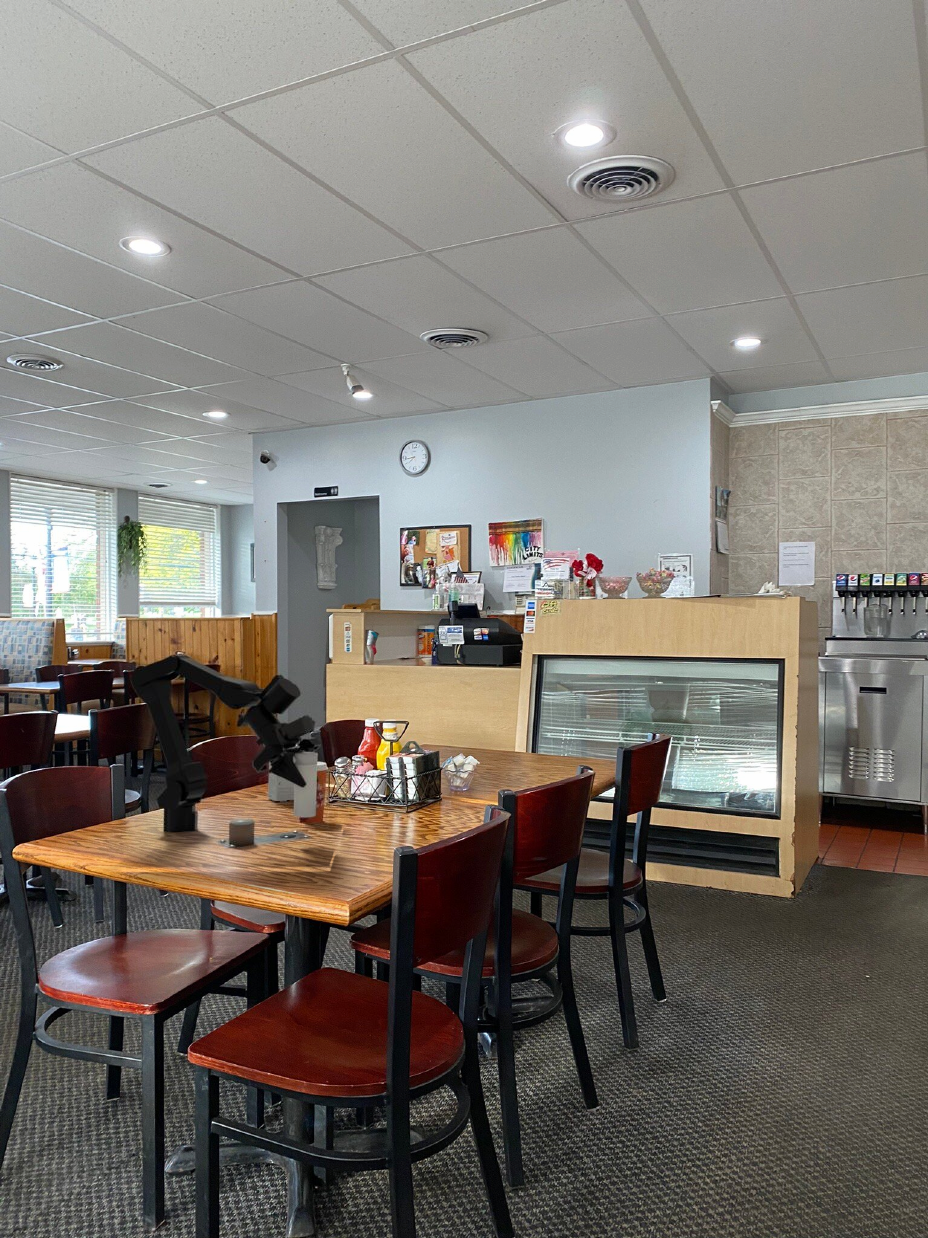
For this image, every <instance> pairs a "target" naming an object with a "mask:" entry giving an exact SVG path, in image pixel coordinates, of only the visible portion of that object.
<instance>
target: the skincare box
mask: <svg viewBox="0 0 928 1238" xmlns="http://www.w3.org/2000/svg"><path fill="white" fill-rule="evenodd" d="M295 745H296V746H297V745H298V744H295ZM270 764H271V763H270V762H268V771H269V770H270V769H271V768H272V766H271V765H270ZM267 789H268V790H267V791H268V793H267V799H268V798H269V799H268V800H271V801H273V802H275V801H280V802H288V801H287V800H290V801H294V783H292V782H290V781H288V780H286V779H284V778H282V777H279V776H277V775H275V774H273V773H269V772H268V787H267Z"/></svg>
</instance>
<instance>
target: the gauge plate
mask: <svg viewBox="0 0 928 1238" xmlns="http://www.w3.org/2000/svg"><path fill="white" fill-rule="evenodd" d="M306 839H314V837H313V836H310V835H309V834H306V833H303V832H301V831H299V830H292V831H287V832H278V833H270V834H263V835H254V843H251V844H246V845H233V844H229V839H220V840H215V842H216V843H218V844H220V845H221V846H224V847H226V848H227V849H237V848H243V847H252V846H259V845H267V844H276V843H283V842H291V841H300V840H306Z"/></svg>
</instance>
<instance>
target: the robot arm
mask: <svg viewBox="0 0 928 1238" xmlns="http://www.w3.org/2000/svg"><path fill="white" fill-rule="evenodd" d="M179 677H182V678H184V679H186V680H188V681H190V682H191V683H194V684H196V685H198V686H200V687H202V688H203V689H206V690H208V691H210V692H211V693H213V694H214V695H216V697H217V698H218V700H219V701H220V702H221V703H222V704H224V705H225V706H227V707H228V708H229V709H231V710H243V709H247V710H246V711H245V712H244V713H239V714H238V715H237V716H238V719H237V721H236V722H237V723H236V727H237V728H242V727H249V728H250V729H251V730H252V732H253V733H254V735H255V736H256V737H257V739H258V740H257V741H256V743H257V745H258V746H264V747H263V748H262V749H261V750H260V751H259V752H258V753H257V755H256V756H255V757H253V759H252V768H253V769H254V770H255V771H256V773H258V774H259V773H263V772H266V770H267V764H269V762H270V763H271V764H270V765H271V766H272V768H271V769H270V770H269V769H268V771H267V772H268V774H269V773H273V774H275V775H277V776H279V777H282V778H284V779H286V780H288V781H290V782H292V783H294V784H296V785H298V786H300V787H302V788H303V787H305V786H306V782H305V780H304V778H303V777H302V775H301V774H300V772H299V770H298V769H297V767H296V766H295V753H298V752H315V753H316V752H317V750H318V749H319V748H320V747H322V743H321V742H320V740H319V739H318V738H317V737H308V738H303V739H302V738H301V737H302V736H304V735H305V736H306V735H307V734H309V733H313V732H315V725H316V721H315V720H313V718H312V717H311V716H310V715H308V714H306V715H303V716H302V717H298V718H297V719H295V720H293V721H291V722H289V723H287V722H281V721H280V719H278V717H277V716H276V715H284V714H285V713H286V712H287V710H288V709H289V708H290V707H291V706H292V705H294V703H295V702H296V701H297V700H298V699H299V698H300V697H301V693H302V692H301V690H300V688H299V687H298V685H297V684H295V683H294V682H293V681H291V680H289V679H287V678H285V677H284V675H282V674H275V675H274V677H272V679H271V681H270V682H269V683H268V684H267V685H266V687H265V688H261V687H259V685H258V684H257V683H256V682H252V681H249V680H246V679H245V680H244V679H241V678H236V677H231V676H226V675H225V674H223V673H221V672H218V671H217V670H214V669H213V668H210V667H209V666H207V665H204V663H203V664H202V663H201V662H198V661H197V660H194V659H192V658H191V657H190V656H188V655H187V654H171V655H169V656H167V657H165V658H163V659H160V660H158V661H155V662H152V663H150V664H147V665H139V666H136V667H135V668H134V670H133V672H132V674H131V675H130V683H131V686H132V687H133V689H134V691H135V693H136V695H137V697H138V698H139V699H140V700H142V702H144V703H145V704H146V706H147V708H148V710H149V712H150V717H151V719H152V723H153V725H154V728H155V731H156V734H157V736H158V739H159V740H158V741H159V743H160V746H161V749H162V751H163V752H162V753H163V755H164V758H165V761H166V764H167V768H166V773H165V784H166V785H165V786H166V788H165V789H164V790H163V791H162V793H161V794H159V796H158V797H157V798H156V801H157V802H156V803H157V806H158V808H159V809H163V828H162V829H163V832H167V833H171V834H172V833H178V834H179V833H187V832H195V831H197V830H198V822H199V820H198V817H199V813H198V812H199V811H197V810H196V804H197V805H198V804H201V802H202V798H203V795H204V794H205V793H206V789H207V788H208V781H207V779H209V777H208V776H207V774H206V772H205V767H204V764H203V762H202V761H198V762H195V761H194V760H193V759H192V758H191V757H190V755H189V754H190V753H189V751H188V748H187V746H186V743H185V740H184V737H183V734H182V731H181V728H180V725H179V722H178V719H177V717H176V713H175V710H174V707H173V704H172V702H171V695H172V689H173V684H172V681H175V680H177V679H178V678H179ZM296 745H297V746H296ZM318 782H319V779H318V776H317V783H318Z"/></svg>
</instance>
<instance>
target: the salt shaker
mask: <svg viewBox="0 0 928 1238" xmlns="http://www.w3.org/2000/svg"><path fill="white" fill-rule="evenodd" d="M318 755H319V754H318V752H316V751H315V752H298V753H295V766H296V767H297V769H298V770H299V772H300V774H301V775H302V777H303V778H304V780H305V782H306V786H305V787H303V788H302V787H300V786H298V785H296V784H294V800H293V817H295V818H299V817H313V816H316V786H317V762H318Z"/></svg>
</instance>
